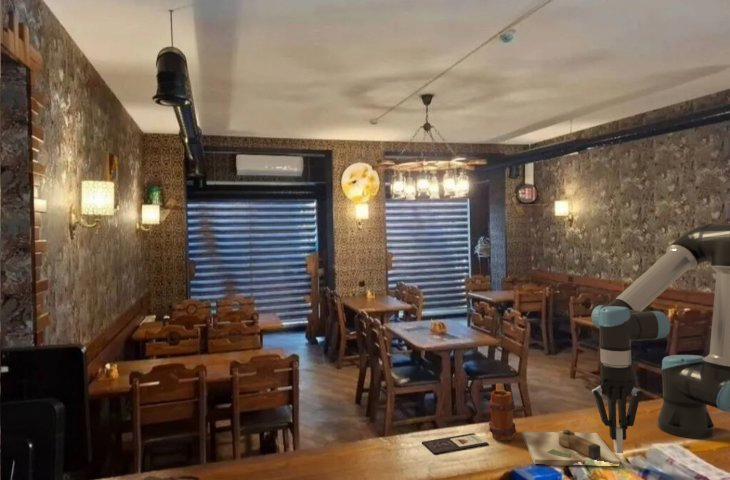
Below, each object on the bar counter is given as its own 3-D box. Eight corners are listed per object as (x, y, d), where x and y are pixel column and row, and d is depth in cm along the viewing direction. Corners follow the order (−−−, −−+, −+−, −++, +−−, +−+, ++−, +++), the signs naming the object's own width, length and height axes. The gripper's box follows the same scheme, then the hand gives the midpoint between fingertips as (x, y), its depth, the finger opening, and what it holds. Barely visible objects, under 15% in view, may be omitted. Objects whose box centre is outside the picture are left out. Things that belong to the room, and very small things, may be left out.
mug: (517, 444, 153) (516, 394, 153) (489, 443, 155) (488, 394, 155) (513, 426, 167) (512, 381, 167) (488, 425, 169) (486, 380, 169)
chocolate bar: (421, 441, 157) (473, 433, 162) (421, 444, 157) (473, 436, 162) (434, 453, 148) (488, 443, 154) (434, 456, 148) (488, 446, 154)
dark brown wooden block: (555, 442, 149) (555, 429, 149) (567, 440, 151) (566, 427, 151) (590, 460, 137) (590, 446, 137) (603, 457, 139) (602, 443, 139)
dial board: (596, 437, 156) (596, 432, 156) (619, 466, 136) (619, 460, 136) (522, 436, 159) (522, 431, 159) (534, 464, 139) (534, 458, 139)
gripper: (635, 360, 141) (638, 446, 141) (586, 360, 143) (589, 444, 143) (647, 367, 134) (649, 457, 134) (594, 367, 135) (597, 456, 135)
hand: (618, 451), depth 138 cm, fingers closed
